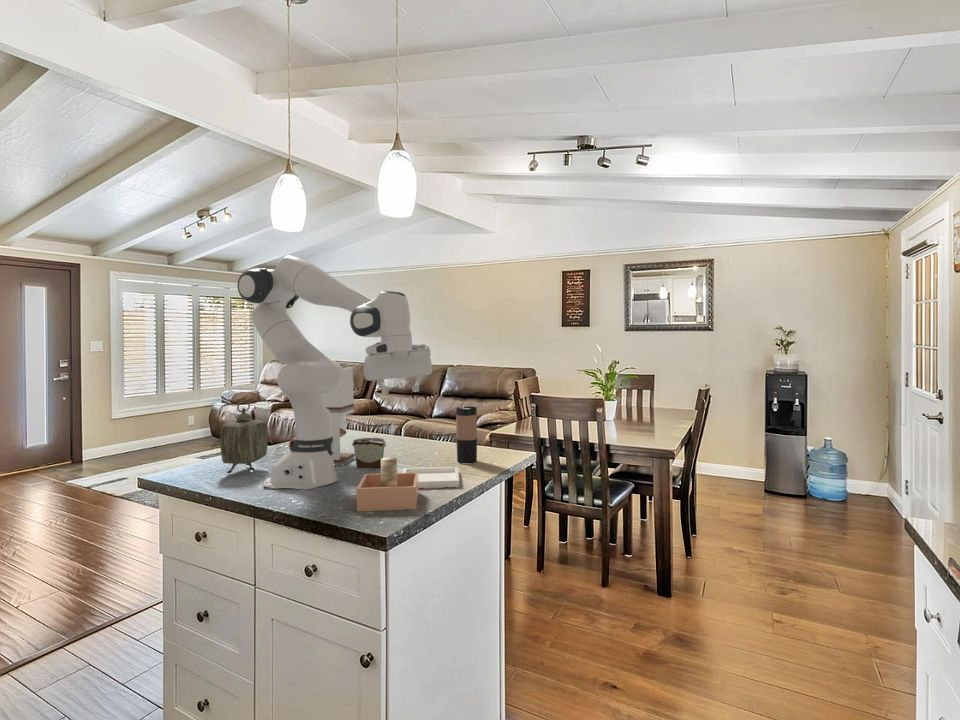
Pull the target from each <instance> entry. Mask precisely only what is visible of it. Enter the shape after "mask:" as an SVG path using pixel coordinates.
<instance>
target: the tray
mask: <svg viewBox="0 0 960 720" xmlns="http://www.w3.org/2000/svg"><path fill="white" fill-rule="evenodd" d="M402 473H418V480H419V488H424V489H445V488H444V487H456V488H460V476H459V475H460V474H459V467H458V466H437V467H435V466H433V467H429V466H428V467H404V468H403V470H402Z"/></svg>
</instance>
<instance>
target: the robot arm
mask: <svg viewBox="0 0 960 720" xmlns="http://www.w3.org/2000/svg"><path fill="white" fill-rule="evenodd" d="M237 291H238V294H239V296H240V297H241V298H242V299H243V300H244V301H246V302H248V303H251V304H257V305H256V306H255V307H254V309H252V311H251V312H252V313H251V320H252V323H253V325H254V327H255V329H256V331H257V333H258V334H259V336H260V338H261V339H262V340H263V342H264V343H265V345H266V347H267V348H268V349H269V350H270V351H271V353H272V355H273V356H274V357H275V359H276V360H278V361H279V362H281V363H283V364H285V365H283V366H282V367H281V368H280V370H279V371H278V374H277V378H276V379H277V386H278V389H280V391H281V392H282V393H283V394H284V395H285V396H286V397H287V398H288V400H289V402H290V405H291V408H292V410H293V414H294V426H295V427H294V428H295V429H294V430H295V437H294V436H293V438H291V439H290V441H289V443H288V447H289V451H288V452H286V453H285V454H284V455H283V456H281V457H280V458H279V459H278V460H277V461H276V462H275V463H274V464H273V465H272V468H271V471H270V477H268V478H266V479H265V480H264V481H263V482H262V483H263V484H262V486H264V487H275V488H274V489H278V488H295V489H294V490H312V489H314V488H317V487H322V486H327V485H329V484H333V483H336V482H337V481H338V479H339V478H338V475H337V471H336V467H335V466H336V465H334V460H333V452H334V441H333V436H332V426H331V413H330V411H329V410H328V409H327V408H326V407H325V406H324V403H323V401H322V397H321V393H326V392H330V391H332V390H334V389H336V388H338V387H339V386H340V385H341V384H342V382H343V380H344V371H343V369H342V368H343V366H342V365H341V364H340V363H338V362H337V361H334V360H332V359H331V358H329V357H328V356H326V355H325V354H324V353H322V352H321V351H320V350H319V349H318V348H317V347H316V346H314V345H313V344H312V343H311V342H310V341H309V340H308V339H307V337H305V335H304V334H303V333H302V332H301V330H300V328H299V327H298V326H297V325H296V324H295V323H294V321H293V320H292V318H291V317H290V316H289V314H288V312H287V309H291V308H292V307H293V306H294V305H295V303H296V302H297V301H298V299H302V300H303V301H305V302H308V303H310V304H313V305H315V306H316V305H317V306H325V307H331V308H333V307H334V308H338V309H339V308H340V309H343V310H346V311H349V312H351V313H350V318H349V325H350V328H351V330H352V331H353V333H354V334H356V335H357V336H358V337H359V336H360V337H362V338H380V341H379V342H376V343H374V344H372V345H368V346H367V347H366V348H365V353H366V355H365V358H364V361H363V362H364V363H363V375H364V379H366V381H376V383H377V385H378V387H379V389H380V390H381V395H382V396H388V395H389V393H390V392H389V388H386V387H385V385H384V383H385V380H388V379H389V380H390V379H399V378H401V379H402V378H409V377H411V378H412V377H414V380H415V383H414V385H412V386H411V391H412V393H415V392H420V384H421V383H422V380H423V378H422V376H429V375H431V374H432V373H433V363H432V359H431V349H430V347H429V346H427V345H426V344H423V343H422V344H413V338H412V332H411V327H410V323H411V312H410V305H409V301H408V298H407V296H406V294H404V293H403V292H401V291H400V292H399V291H392V290H382V291H380V292H379V293H378V295H376V296H375V297H374V298H373V299H369V298H367V297H365V296H364V295H363V294H360V293H359V292H357V291H355V290H353V289H351V288H349V286H347V285H345V284H343V283H342V282H340V281H339V280H338V279H336V278H334V276H332V275H330V274H329V273H327V272H326V271H325V270H323V269H321V268H320V267H318V266H317V265H316V264H313V263H311V262H309V261H308V260H305V259H303V258H301V257H297V256H294V255H287V256H284V257H282V258H281V259H280V260H279V261H278V263H277V264H276V267H275V268H272V269H271V268H269V269H267V268H253V269H249V270H246V271H243V272H242V273H241V274H240V276H239V277H238V280H237ZM264 487H263V488H264Z"/></svg>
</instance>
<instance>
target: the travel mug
mask: <svg viewBox="0 0 960 720" xmlns="http://www.w3.org/2000/svg"><path fill="white" fill-rule="evenodd" d="M455 410H456V411H455V412H456V413H455V415H456V417H455V419H456V420H455V421H456V424H455V425H456V428H455V429H456V438H455V441H456V459H457V463H458V462H459V464H461V463H472V464H475V462H476V463H477V462H478V461H477V460H478V458H477V457H478V421H477V420H478V418H477V417H478V415H477V414H478V413H477V407H476V406H467V405H466V406H463V407H461V408H460V407H459V406H458V407H457V406H456V409H455Z"/></svg>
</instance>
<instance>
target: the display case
mask: <svg viewBox="0 0 960 720" xmlns="http://www.w3.org/2000/svg"><path fill="white" fill-rule="evenodd" d="M342 369H343V371H344V380H343V382H342V384H341V385H340V386H339V387H338V388H336V389H334V390H332V391H330V392H326V393H321V397H322V401H323V403H324V406H325V407H326V408H327V409H328V410H329V411H330V413H331V426H332V436H333V441H334V452H333V460H334V464H335V465H334V466H336V465H343V464H344V465H346V464H347V463H346V462H348V461H350V460H351V461H353V460H355V459H354V458H355V452H354V453H353V452H352V453H351V452H350V453H349V452H341V438H342V437H343V436H345V435H346V434H347V416H348V415H350V414H354V413H355V411H354V407H355V405H354V403H355V402H354V367H353V366H352V367H350V366H349V367H344V368H343V367H342ZM352 459H353V460H352ZM351 461H350V462H351ZM345 463H346V464H345ZM348 463H349V462H348ZM344 465H343V466H344Z"/></svg>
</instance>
